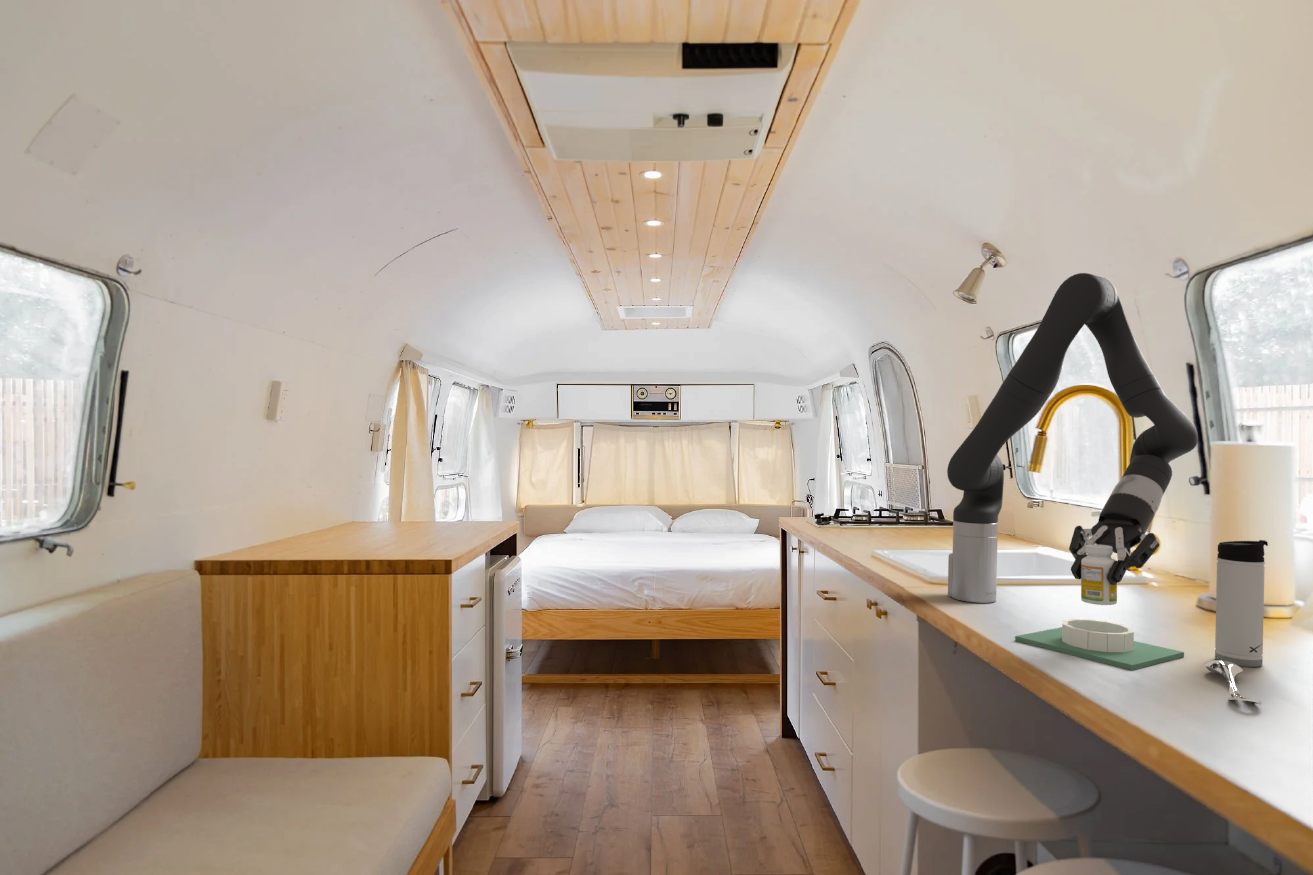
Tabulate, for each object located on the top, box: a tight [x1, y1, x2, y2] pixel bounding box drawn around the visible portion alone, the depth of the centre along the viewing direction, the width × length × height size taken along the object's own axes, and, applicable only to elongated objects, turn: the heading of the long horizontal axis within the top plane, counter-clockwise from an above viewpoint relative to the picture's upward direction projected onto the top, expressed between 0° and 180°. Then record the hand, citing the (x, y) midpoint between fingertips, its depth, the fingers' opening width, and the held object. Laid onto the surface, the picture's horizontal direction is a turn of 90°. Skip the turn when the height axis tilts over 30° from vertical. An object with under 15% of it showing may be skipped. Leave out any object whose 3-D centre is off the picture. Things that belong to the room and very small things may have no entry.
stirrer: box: [1204, 659, 1263, 705], centre depth 114 cm, size 20×4×5 cm
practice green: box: [1014, 618, 1185, 671], centre depth 136 cm, size 20×16×4 cm
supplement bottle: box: [1080, 544, 1118, 606], centre depth 136 cm, size 5×5×10 cm
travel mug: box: [1214, 539, 1269, 668], centre depth 129 cm, size 6×7×20 cm
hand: (1093, 578), depth 135 cm, fingers closed on supplement bottle, 5 cm apart
